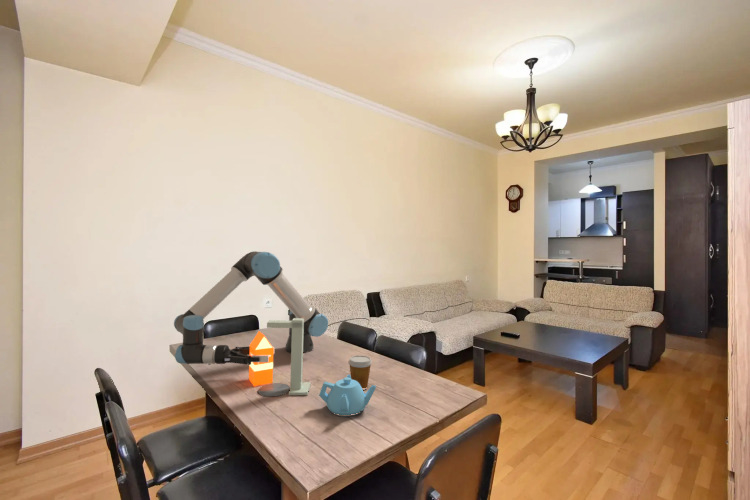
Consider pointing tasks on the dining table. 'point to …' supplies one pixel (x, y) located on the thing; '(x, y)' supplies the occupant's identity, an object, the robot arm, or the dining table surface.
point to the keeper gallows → (294, 354)
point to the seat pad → (273, 389)
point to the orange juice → (261, 370)
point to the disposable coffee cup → (360, 369)
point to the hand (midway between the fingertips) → (271, 354)
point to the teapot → (346, 396)
